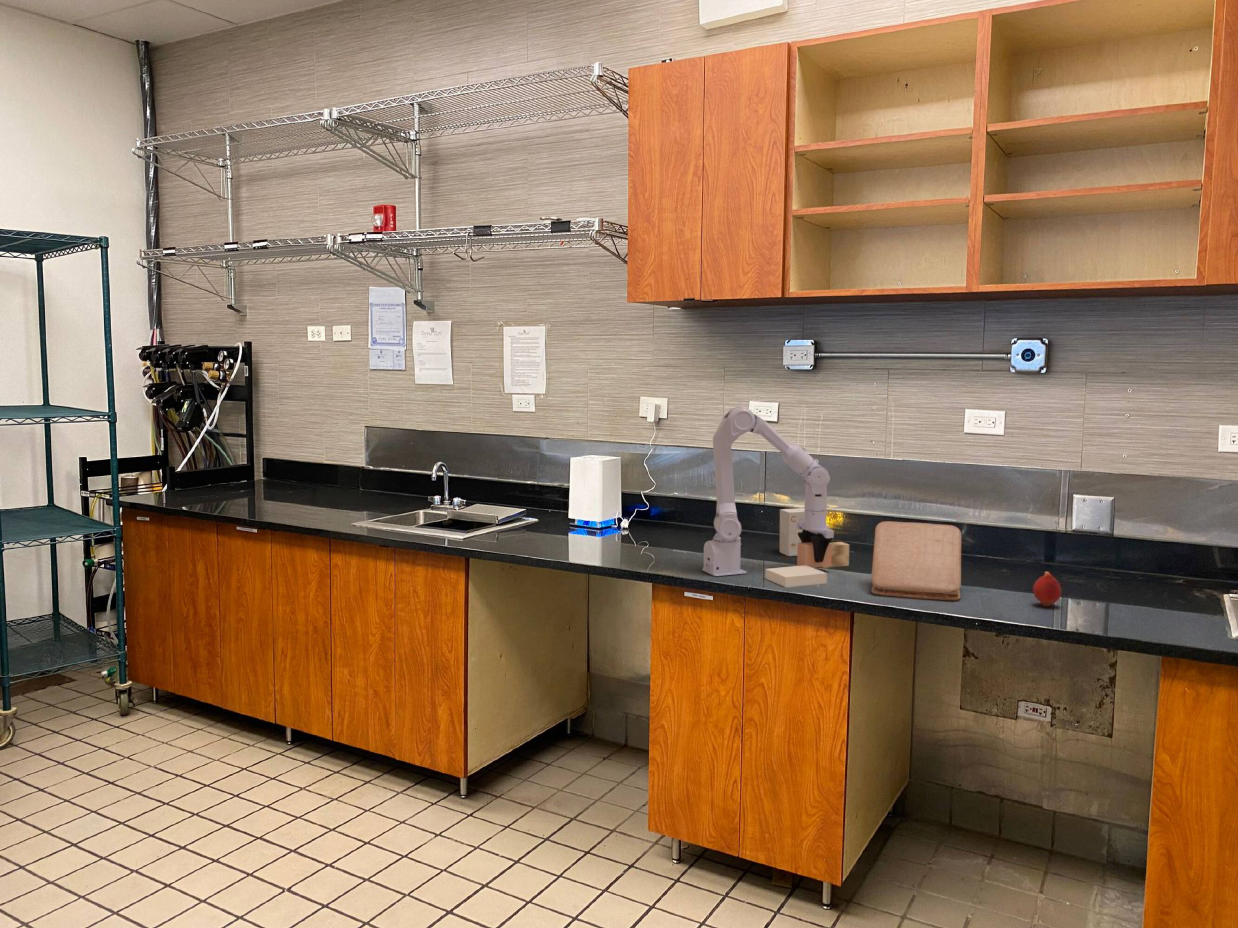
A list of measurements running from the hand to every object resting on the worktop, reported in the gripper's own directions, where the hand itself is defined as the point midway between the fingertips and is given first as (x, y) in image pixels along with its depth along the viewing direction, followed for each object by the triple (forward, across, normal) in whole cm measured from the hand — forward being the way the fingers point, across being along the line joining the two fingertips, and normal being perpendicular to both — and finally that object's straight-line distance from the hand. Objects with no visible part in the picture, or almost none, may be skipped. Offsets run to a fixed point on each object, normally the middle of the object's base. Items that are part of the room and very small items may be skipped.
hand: (814, 560), depth 238 cm
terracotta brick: (+2, 0, 0) cm, 2 cm away
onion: (+3, -49, -30) cm, 58 cm away
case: (+3, -25, -13) cm, 28 cm away
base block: (+4, -7, +10) cm, 13 cm away
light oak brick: (+3, +5, -9) cm, 11 cm away
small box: (+3, +22, -8) cm, 24 cm away
